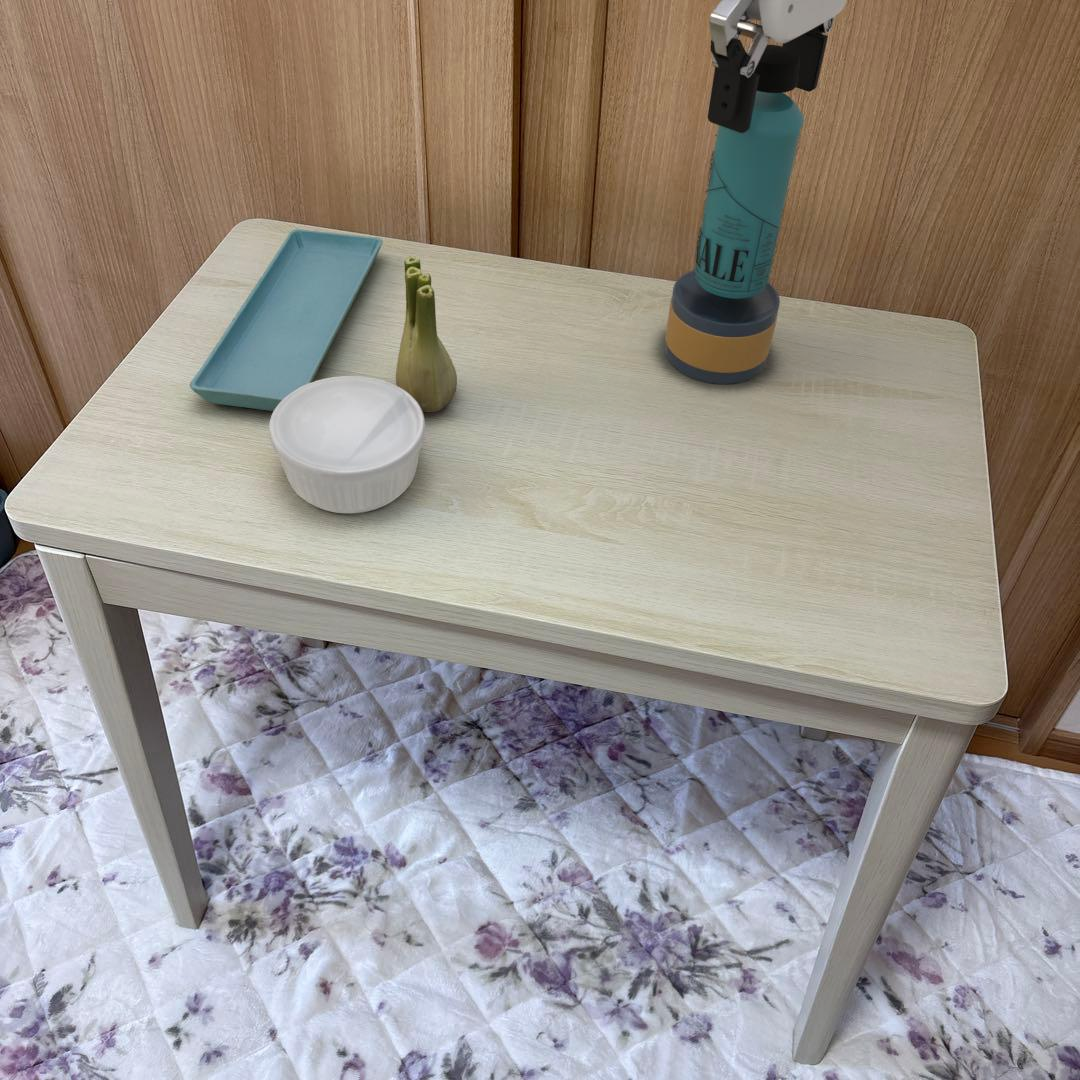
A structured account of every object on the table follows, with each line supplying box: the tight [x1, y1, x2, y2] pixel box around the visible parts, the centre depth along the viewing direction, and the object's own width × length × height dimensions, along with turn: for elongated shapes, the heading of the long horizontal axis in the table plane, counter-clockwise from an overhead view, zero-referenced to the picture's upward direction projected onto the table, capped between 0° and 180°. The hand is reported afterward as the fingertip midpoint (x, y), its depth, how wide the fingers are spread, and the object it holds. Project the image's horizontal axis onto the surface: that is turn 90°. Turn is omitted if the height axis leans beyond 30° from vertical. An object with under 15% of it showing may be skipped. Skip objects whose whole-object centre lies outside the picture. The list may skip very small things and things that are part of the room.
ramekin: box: [268, 375, 426, 514], centre depth 78 cm, size 11×11×5 cm
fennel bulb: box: [395, 255, 458, 413], centre depth 83 cm, size 6×5×12 cm
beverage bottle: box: [692, 44, 805, 299], centre depth 82 cm, size 6×7×20 cm
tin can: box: [664, 269, 781, 385], centre depth 91 cm, size 9×9×6 cm
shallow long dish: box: [189, 228, 384, 412], centre depth 93 cm, size 26×9×2 cm, turn 171°
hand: (762, 105), depth 78 cm, fingers open, 9 cm apart
